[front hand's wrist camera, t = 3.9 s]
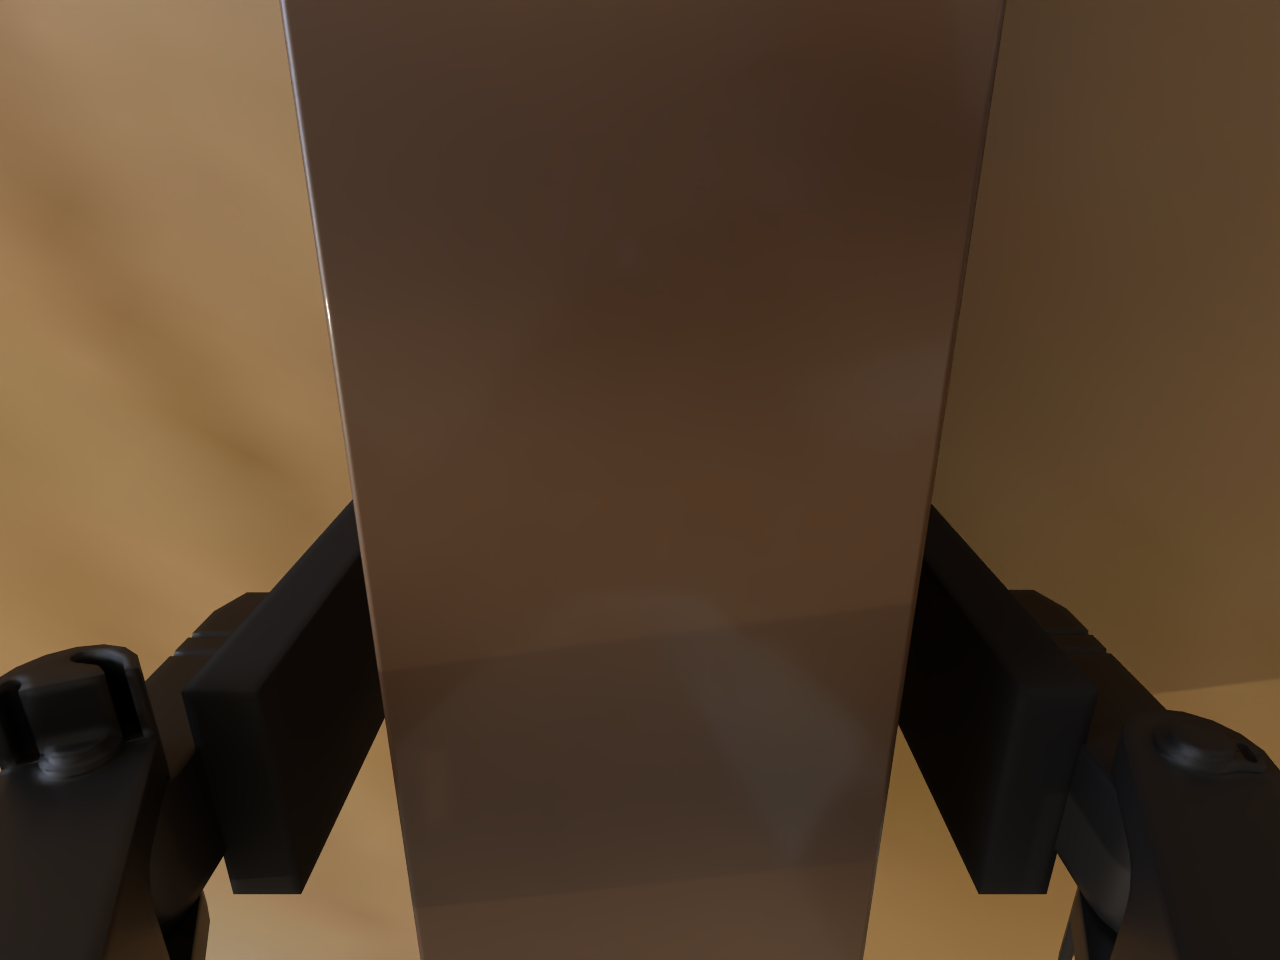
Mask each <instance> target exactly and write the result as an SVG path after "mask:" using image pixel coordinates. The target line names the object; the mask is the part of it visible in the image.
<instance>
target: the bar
mask: <svg viewBox="0 0 1280 960" xmlns="http://www.w3.org/2000/svg"><path fill="white" fill-rule="evenodd" d="M279 1H280V8H281V14H282V21H283V28H284V35H285V42H286V48H287V55H288V62H289V69H290V76H291V82H292V89H293V96H294V103H295V110H296V116H297V123H298V130H299V137H300V144H301V150H302V157H303V164H304V171H305V178H306V184H307V191H308V198H309V205H310V212H311V218H312V225H313V232H314V239H315V246H316V252H317V259H318V266H319V273H320V280H321V286H322V293H323V300H324V307H325V313H326V320H327V327H328V334H329V341H330V347H331V354H332V361H333V368H334V375H335V381H336V388H337V395H338V402H339V409H340V415H341V422H342V429H343V436H344V443H345V449H346V456H347V463H348V470H349V477H350V483H351V490H352V497H353V504H354V511H355V517H356V524H357V531H358V538H359V545H360V551H361V558H362V565H363V572H364V578H365V585H366V592H367V599H368V606H369V612H370V619H371V626H372V633H373V640H374V646H375V653H376V660H377V667H378V674H379V680H380V687H381V694H382V701H383V708H384V714H385V721H386V728H387V735H388V742H389V748H390V755H391V762H392V769H393V776H394V782H395V789H396V796H397V803H398V810H399V816H400V823H401V830H402V837H403V844H404V850H405V857H406V864H407V871H408V877H409V884H410V891H411V898H412V905H413V911H414V918H415V925H416V932H417V939H418V945H419V952H420V959H421V960H863V955H864V949H865V942H866V935H867V929H868V922H869V915H870V909H871V902H872V895H873V888H874V882H875V875H876V868H877V862H878V855H879V848H880V842H881V835H882V828H883V822H884V815H885V808H886V801H887V795H888V788H889V781H890V775H891V768H892V761H893V755H894V748H895V741H896V735H897V728H898V721H899V715H900V708H901V701H902V694H903V688H904V681H905V674H906V668H907V661H908V654H909V648H910V641H911V634H912V628H913V621H914V614H915V607H916V601H917V594H918V587H919V581H920V574H921V567H922V561H923V554H924V547H925V541H926V534H927V527H928V521H929V514H930V507H931V500H932V494H933V487H934V480H935V474H936V467H937V460H938V454H939V447H940V440H941V434H942V427H943V420H944V413H945V407H946V400H947V393H948V387H949V380H950V373H951V367H952V360H953V353H954V347H955V340H956V333H957V326H958V320H959V313H960V306H961V300H962V293H963V286H964V280H965V273H966V266H967V260H968V253H969V246H970V240H971V233H972V226H973V219H974V213H975V206H976V199H977V193H978V186H979V179H980V173H981V166H982V159H983V153H984V146H985V139H986V132H987V126H988V119H989V112H990V106H991V99H992V92H993V86H994V79H995V72H996V66H997V59H998V52H999V46H1000V39H1001V32H1002V25H1003V19H1004V12H1005V5H1006V0H279Z"/></svg>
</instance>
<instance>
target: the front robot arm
mask: <svg viewBox="0 0 1280 960" xmlns="http://www.w3.org/2000/svg"><path fill="white" fill-rule="evenodd" d="M384 718H385V714H384V708H383V701H382V694H381V687H380V680H379V674H378V667H377V660H376V653H375V646H374V640H373V633H372V626H371V619H370V612H369V606H368V599H367V592H366V585H365V578H364V572H363V565H362V558H361V551H360V545H359V538H358V531H357V524H356V517H355V511H354V504H353V500H352V501H351V502H350V503H349V504H348V505H347V506H346V507H345V509H344V510H343V511H342V512H341V513H340V514H339V515H338V516H337V518H336V519H335V520H334V521H333V522H332V523H331V524H330V525H329V526H328V528H327V529H326V530H325V531H324V532H323V533H322V534H321V535H320V537H319V538H318V539H317V540H316V541H315V542H314V543H313V544H312V546H311V547H310V548H309V549H308V550H307V551H306V552H305V553H304V554H303V556H302V557H301V558H300V559H299V560H298V561H297V562H296V563H295V565H294V566H293V567H292V568H291V569H290V570H289V571H288V572H287V573H286V575H285V576H284V577H283V578H282V579H281V580H280V581H279V582H278V584H277V585H276V586H275V587H274V588H273V589H272V590H271V591H270V592H247V593H245V594H243V595H242V596H240V597H238V598H236V599H235V600H233V601H231V602H229V603H228V604H226V605H224V606H222V607H221V608H219V609H217V610H215V611H214V612H213V613H212V614H211V615H210V616H209V617H208V618H207V619H206V620H205V621H204V622H203V623H202V624H201V625H200V626H199V627H198V628H197V629H196V630H195V631H194V632H193V636H192V638H187V639H186V640H185V641H184V642H183V643H182V644H181V645H180V646H179V648H178V649H177V650H176V651H175V654H174V656H170V657H169V658H168V659H167V660H166V661H165V662H164V663H163V664H162V665H161V666H160V667H159V668H158V669H157V670H156V671H155V672H154V673H153V674H152V675H151V676H150V677H149V678H148V679H147V680H146V681H145V680H144V677H143V673H142V669H141V666H140V662H139V659H138V655H136V654H135V653H133V652H132V651H130V650H129V649H127V648H126V647H120V646H113V645H105V644H103V645H93V646H82V647H75V648H71V649H67V650H63V651H59V652H55V653H52V654H48V655H45V656H42V657H40V658H37V659H35V660H33V661H30V662H28V663H25V664H23V665H20V666H18V667H16V668H14V669H12V670H11V671H9V672H8V673H6V674H4V675H3V676H1V677H0V767H1V772H0V960H205V957H206V948H207V940H208V932H209V924H210V918H209V912H208V906H207V902H206V898H205V895H204V891H203V888H204V887H205V885H206V883H207V882H208V880H209V879H210V877H211V875H212V874H213V872H214V870H215V869H216V867H217V866H218V864H219V862H220V861H221V859H222V857H223V856H224V859H225V863H226V867H227V871H228V875H229V879H230V882H231V886H232V890H233V894H301V893H302V891H303V889H304V887H305V885H306V883H307V881H308V879H309V876H310V874H311V872H312V870H313V868H314V866H315V864H316V862H317V860H318V857H319V855H320V853H321V851H322V849H323V847H324V845H325V843H326V841H327V838H328V836H329V834H330V832H331V830H332V828H333V826H334V824H335V822H336V819H337V817H338V815H339V813H340V811H341V809H342V807H343V805H344V802H345V800H346V798H347V796H348V794H349V792H350V790H351V788H352V786H353V783H354V781H355V779H356V777H357V775H358V773H359V771H360V769H361V767H362V764H363V762H364V760H365V758H366V756H367V754H368V752H369V750H370V748H371V745H372V743H373V741H374V739H375V737H376V735H377V733H378V731H379V728H380V726H381V724H382V722H383V720H384ZM898 724H899V726H900V729H901V731H902V733H903V735H904V737H905V739H906V741H907V743H908V745H909V748H910V750H911V752H912V754H913V756H914V758H915V760H916V762H917V764H918V767H919V769H920V771H921V773H922V775H923V777H924V779H925V781H926V783H927V786H928V788H929V790H930V792H931V794H932V796H933V798H934V800H935V803H936V805H937V807H938V809H939V811H940V813H941V815H942V817H943V819H944V822H945V824H946V826H947V828H948V830H949V832H950V834H951V836H952V838H953V841H954V843H955V845H956V847H957V849H958V851H959V853H960V855H961V857H962V860H963V862H964V864H965V866H966V868H967V870H968V872H969V874H970V877H971V879H972V881H973V883H974V885H975V887H976V889H977V891H978V893H979V894H1047V890H1048V886H1049V882H1050V878H1051V875H1052V871H1053V867H1054V863H1055V859H1056V855H1057V853H1058V855H1059V857H1060V858H1061V860H1062V862H1063V863H1064V865H1065V866H1066V868H1067V870H1068V871H1069V873H1070V874H1071V876H1072V878H1073V879H1074V881H1075V883H1076V884H1077V886H1078V887H1077V891H1076V895H1075V898H1074V902H1073V905H1072V909H1071V912H1070V916H1069V920H1068V923H1067V927H1066V930H1065V934H1064V937H1063V941H1062V945H1061V948H1060V952H1059V957H1058V960H1072V957H1073V956H1074V955H1075V960H1280V770H1279V769H1278V767H1277V766H1276V765H1275V764H1274V763H1273V761H1272V760H1271V759H1270V758H1269V756H1268V755H1267V754H1266V753H1265V751H1263V750H1262V749H1261V748H1259V747H1258V746H1257V745H1255V744H1254V743H1252V742H1251V741H1250V740H1248V739H1247V738H1246V737H1244V736H1243V735H1241V734H1240V733H1238V732H1235V731H1233V730H1231V729H1229V728H1227V727H1225V726H1223V725H1221V724H1219V723H1217V722H1215V721H1213V720H1209V719H1206V718H1202V717H1199V716H1196V715H1192V714H1189V713H1186V712H1181V711H1172V710H1166V709H1165V708H1164V707H1163V706H1162V705H1161V704H1160V703H1159V702H1158V701H1157V700H1156V699H1155V698H1154V697H1153V696H1152V695H1151V694H1150V693H1149V692H1148V691H1147V689H1146V688H1145V687H1144V686H1143V685H1142V684H1141V683H1140V682H1139V681H1138V680H1137V679H1136V678H1135V677H1134V676H1133V675H1132V674H1131V673H1130V672H1129V671H1128V670H1127V669H1126V668H1125V667H1124V666H1123V665H1122V664H1121V663H1120V662H1119V661H1118V660H1117V659H1116V658H1115V657H1114V656H1113V655H1112V654H1107V653H1106V648H1105V647H1104V646H1103V645H1102V644H1101V643H1100V642H1099V641H1098V640H1097V639H1096V638H1095V637H1094V636H1093V635H1088V630H1087V629H1086V628H1085V627H1084V626H1083V625H1082V624H1081V623H1080V622H1079V621H1078V620H1077V619H1076V618H1075V617H1074V616H1073V615H1072V614H1071V613H1070V612H1069V611H1068V610H1067V609H1066V608H1064V607H1063V606H1061V605H1059V604H1057V603H1056V602H1054V601H1052V600H1050V599H1049V598H1047V597H1045V596H1043V595H1042V594H1040V593H1038V592H1036V591H1035V590H1008V589H1007V588H1006V587H1005V586H1004V585H1003V584H1002V582H1001V581H1000V580H999V579H998V578H997V577H996V576H995V575H994V574H993V572H992V571H991V570H990V569H989V568H988V567H987V566H986V565H985V563H984V562H983V561H982V560H981V559H980V558H979V557H978V556H977V554H976V553H975V552H974V551H973V550H972V549H971V548H970V547H969V546H968V544H967V543H966V542H965V541H964V540H963V539H962V538H961V537H960V535H959V534H958V533H957V532H956V531H955V530H954V529H953V528H952V527H951V525H950V524H949V523H948V522H947V521H946V520H945V519H944V518H943V516H942V515H941V514H940V513H939V512H938V511H937V510H936V509H935V507H934V506H933V505H932V504H931V507H930V514H929V521H928V527H927V534H926V541H925V547H924V554H923V561H922V567H921V574H920V581H919V587H918V594H917V601H916V607H915V614H914V621H913V628H912V634H911V641H910V648H909V654H908V661H907V668H906V674H905V681H904V688H903V694H902V701H901V708H900V715H899V721H898Z"/></svg>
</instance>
